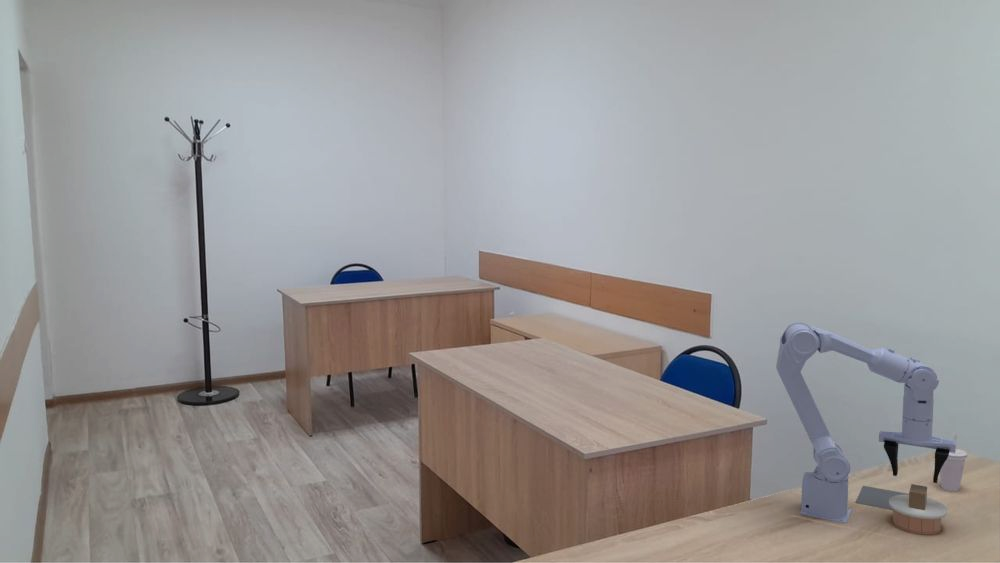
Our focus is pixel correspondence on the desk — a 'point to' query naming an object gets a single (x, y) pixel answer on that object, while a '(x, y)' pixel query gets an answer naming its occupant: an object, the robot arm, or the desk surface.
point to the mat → (876, 497)
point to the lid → (918, 504)
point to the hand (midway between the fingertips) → (915, 478)
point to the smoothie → (953, 470)
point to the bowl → (917, 524)
